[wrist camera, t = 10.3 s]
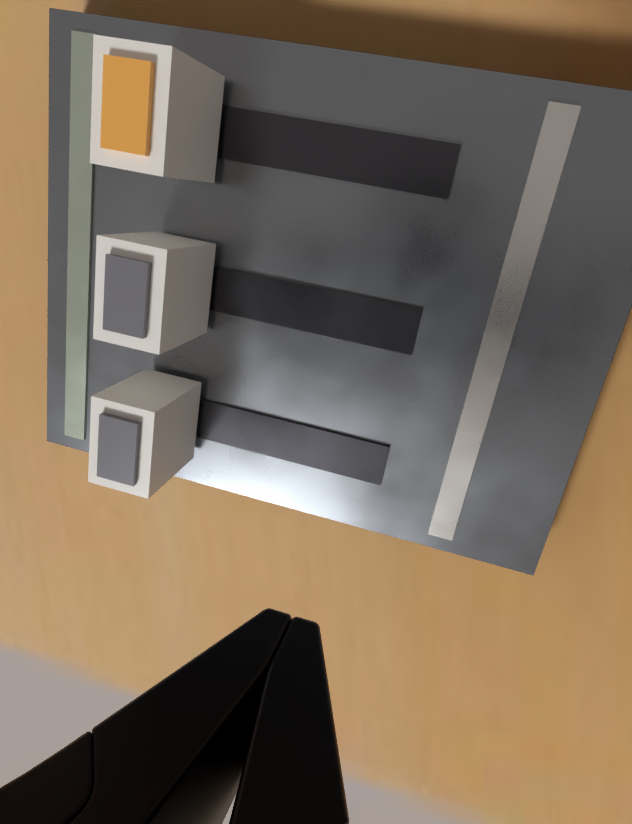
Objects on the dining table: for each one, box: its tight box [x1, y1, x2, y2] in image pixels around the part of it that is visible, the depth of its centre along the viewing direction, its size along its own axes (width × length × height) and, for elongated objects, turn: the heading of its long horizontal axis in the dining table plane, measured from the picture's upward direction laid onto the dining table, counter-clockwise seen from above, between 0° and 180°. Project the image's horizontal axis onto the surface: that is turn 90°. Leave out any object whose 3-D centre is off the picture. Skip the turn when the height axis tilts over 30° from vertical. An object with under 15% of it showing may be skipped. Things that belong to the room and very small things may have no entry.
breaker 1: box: [90, 34, 225, 183], centre depth 15 cm, size 2×3×3 cm
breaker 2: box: [93, 232, 216, 355], centre depth 17 cm, size 2×3×3 cm
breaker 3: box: [88, 369, 202, 499], centre depth 18 cm, size 2×3×3 cm
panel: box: [47, 8, 632, 575], centre depth 19 cm, size 18×14×2 cm
